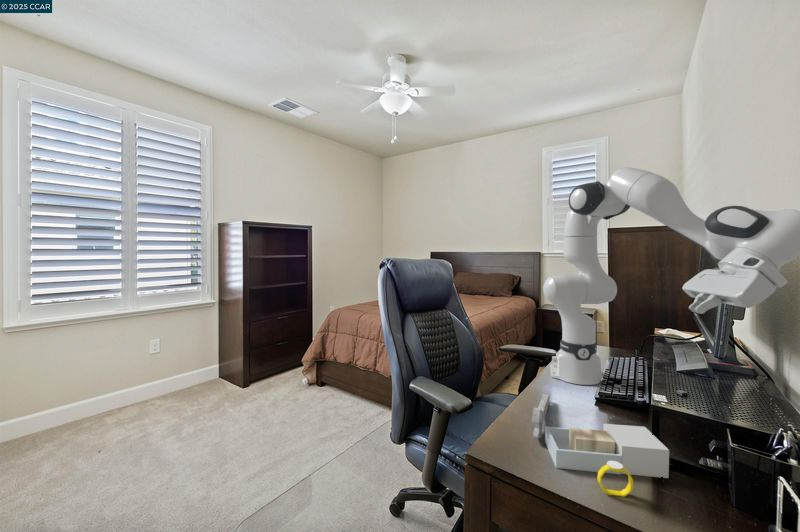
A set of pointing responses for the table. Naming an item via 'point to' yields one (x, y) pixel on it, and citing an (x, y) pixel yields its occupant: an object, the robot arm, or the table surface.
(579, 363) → the robot arm
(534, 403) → the table surface
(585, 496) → the table surface
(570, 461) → the tray
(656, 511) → the table surface
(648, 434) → the riser
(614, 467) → the watch
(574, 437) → the block
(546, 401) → the wrench
